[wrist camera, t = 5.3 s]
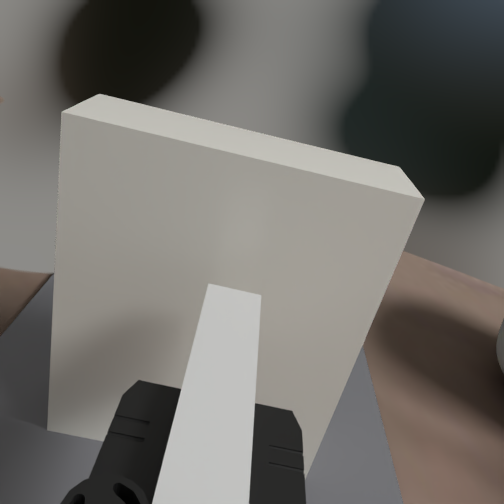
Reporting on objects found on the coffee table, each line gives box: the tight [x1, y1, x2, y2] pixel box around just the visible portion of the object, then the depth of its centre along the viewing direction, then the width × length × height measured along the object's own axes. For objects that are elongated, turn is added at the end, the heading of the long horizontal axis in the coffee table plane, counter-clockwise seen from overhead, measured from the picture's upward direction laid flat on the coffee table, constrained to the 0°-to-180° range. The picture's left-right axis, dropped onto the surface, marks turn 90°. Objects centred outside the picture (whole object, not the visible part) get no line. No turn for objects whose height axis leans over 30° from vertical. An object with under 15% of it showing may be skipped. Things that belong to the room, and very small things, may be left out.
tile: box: [47, 94, 424, 479], centre depth 17 cm, size 3×10×12 cm, turn 87°
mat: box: [0, 274, 403, 504], centre depth 25 cm, size 22×18×1 cm
